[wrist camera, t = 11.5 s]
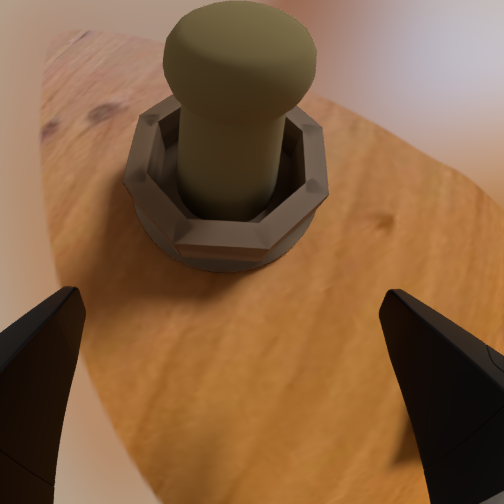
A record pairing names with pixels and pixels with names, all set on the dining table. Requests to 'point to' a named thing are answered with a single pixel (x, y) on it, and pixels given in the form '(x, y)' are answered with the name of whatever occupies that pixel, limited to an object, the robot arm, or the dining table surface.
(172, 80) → the olive round-headed post
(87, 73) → the dining table surface
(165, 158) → the octagonal stone mortar
